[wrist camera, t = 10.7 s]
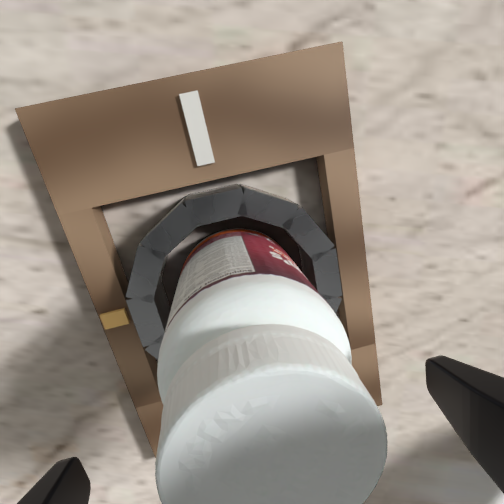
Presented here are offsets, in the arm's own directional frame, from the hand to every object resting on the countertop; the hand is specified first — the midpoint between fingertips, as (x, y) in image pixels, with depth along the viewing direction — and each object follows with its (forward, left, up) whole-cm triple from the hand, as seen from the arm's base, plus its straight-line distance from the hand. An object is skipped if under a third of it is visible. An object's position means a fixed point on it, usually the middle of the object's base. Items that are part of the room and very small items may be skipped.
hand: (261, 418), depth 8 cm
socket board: (0, 0, -10) cm, 10 cm away
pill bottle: (0, 0, -10) cm, 10 cm away
